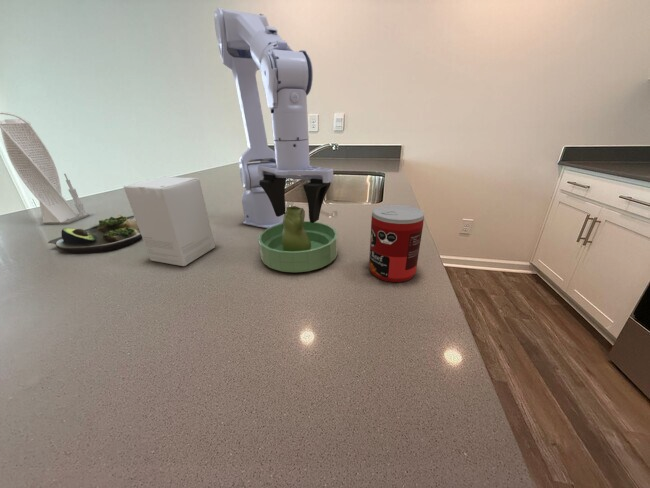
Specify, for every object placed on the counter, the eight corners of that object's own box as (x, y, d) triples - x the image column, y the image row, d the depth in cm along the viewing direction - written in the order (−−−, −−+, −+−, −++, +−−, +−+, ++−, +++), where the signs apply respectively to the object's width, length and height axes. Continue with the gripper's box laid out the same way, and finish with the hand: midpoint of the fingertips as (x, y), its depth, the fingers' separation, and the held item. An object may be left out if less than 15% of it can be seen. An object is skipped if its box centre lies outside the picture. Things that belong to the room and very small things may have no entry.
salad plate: (105, 222, 72) (98, 207, 70) (170, 220, 72) (165, 204, 70) (38, 255, 54) (26, 235, 52) (124, 252, 55) (115, 232, 53)
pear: (287, 250, 52) (282, 202, 48) (313, 250, 52) (311, 202, 47) (280, 264, 47) (275, 212, 43) (309, 264, 47) (306, 212, 42)
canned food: (364, 261, 48) (367, 205, 44) (405, 259, 49) (412, 203, 44) (375, 285, 42) (379, 221, 37) (423, 281, 42) (433, 218, 37)
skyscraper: (63, 225, 71) (6, 111, 59) (34, 226, 71) (-28, 112, 59) (89, 215, 78) (43, 112, 66) (63, 215, 78) (13, 113, 66)
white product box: (217, 247, 56) (201, 177, 49) (184, 267, 48) (160, 188, 42) (184, 242, 58) (165, 175, 52) (148, 260, 51) (121, 185, 44)
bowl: (245, 263, 49) (241, 242, 47) (290, 235, 61) (289, 217, 59) (312, 283, 42) (311, 259, 40) (349, 247, 54) (349, 227, 52)
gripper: (240, 141, 42) (252, 218, 48) (317, 142, 36) (320, 231, 42) (268, 138, 48) (276, 208, 54) (339, 139, 42) (338, 218, 47)
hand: (297, 217), depth 48 cm, fingers open, 7 cm apart
